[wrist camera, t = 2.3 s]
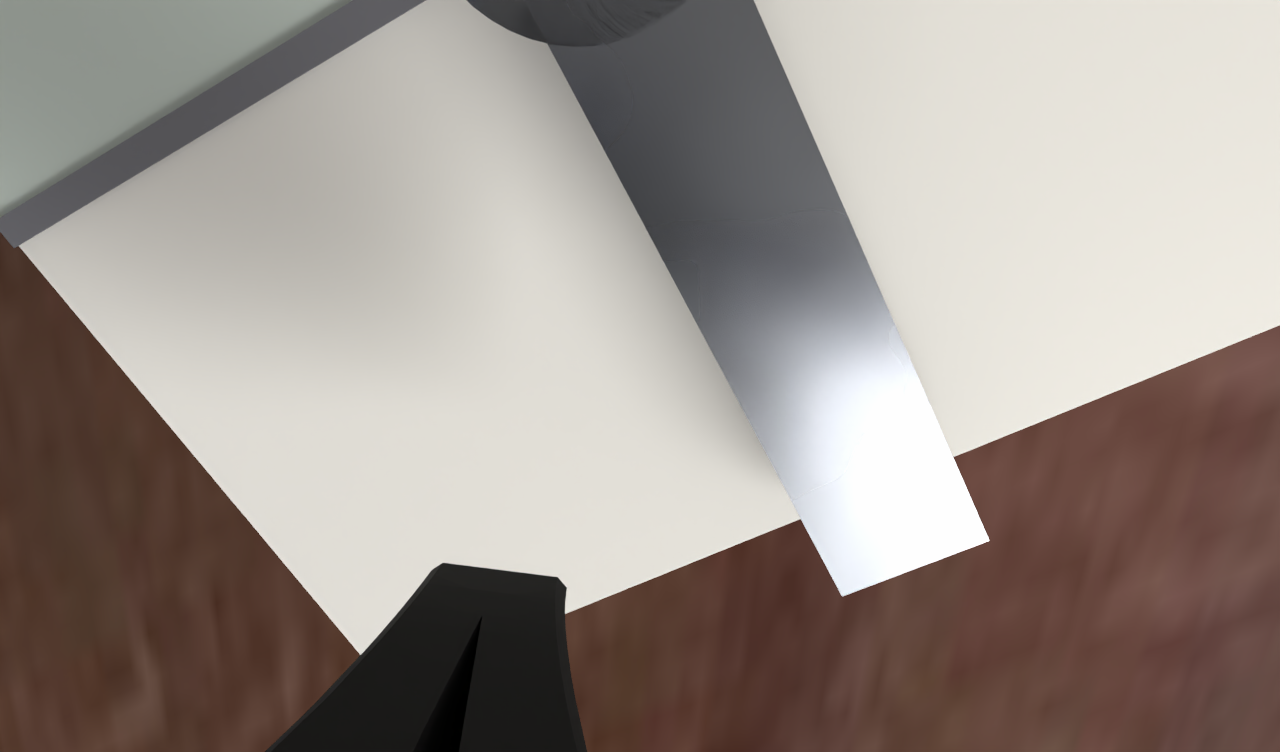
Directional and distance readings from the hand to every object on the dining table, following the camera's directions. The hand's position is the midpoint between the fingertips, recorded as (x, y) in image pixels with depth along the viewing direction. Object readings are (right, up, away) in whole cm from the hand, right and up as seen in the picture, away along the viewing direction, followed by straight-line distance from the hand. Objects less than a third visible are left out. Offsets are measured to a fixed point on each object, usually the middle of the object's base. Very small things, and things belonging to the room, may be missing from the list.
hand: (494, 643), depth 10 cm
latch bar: (+3, +5, +1) cm, 6 cm away
